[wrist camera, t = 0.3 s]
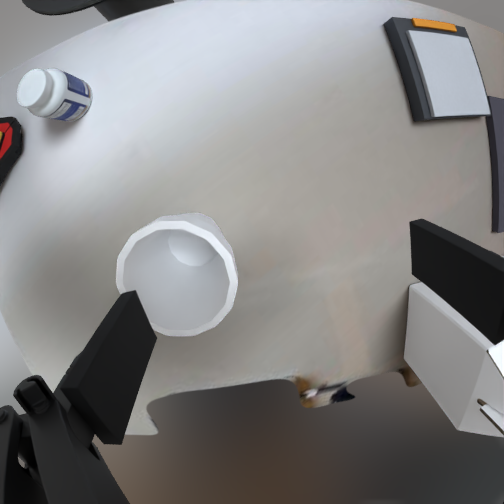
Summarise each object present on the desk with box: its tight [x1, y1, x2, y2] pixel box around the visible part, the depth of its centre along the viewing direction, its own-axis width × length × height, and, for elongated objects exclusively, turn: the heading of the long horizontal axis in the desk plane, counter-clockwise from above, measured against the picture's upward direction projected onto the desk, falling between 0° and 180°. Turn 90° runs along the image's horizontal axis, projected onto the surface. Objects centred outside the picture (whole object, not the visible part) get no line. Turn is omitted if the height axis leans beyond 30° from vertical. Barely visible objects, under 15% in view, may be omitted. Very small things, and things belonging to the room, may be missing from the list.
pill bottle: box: [17, 68, 92, 121], centre depth 24 cm, size 5×5×10 cm
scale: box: [384, 17, 492, 121], centre depth 28 cm, size 14×14×3 cm
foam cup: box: [116, 213, 238, 336], centre depth 28 cm, size 10×9×13 cm
